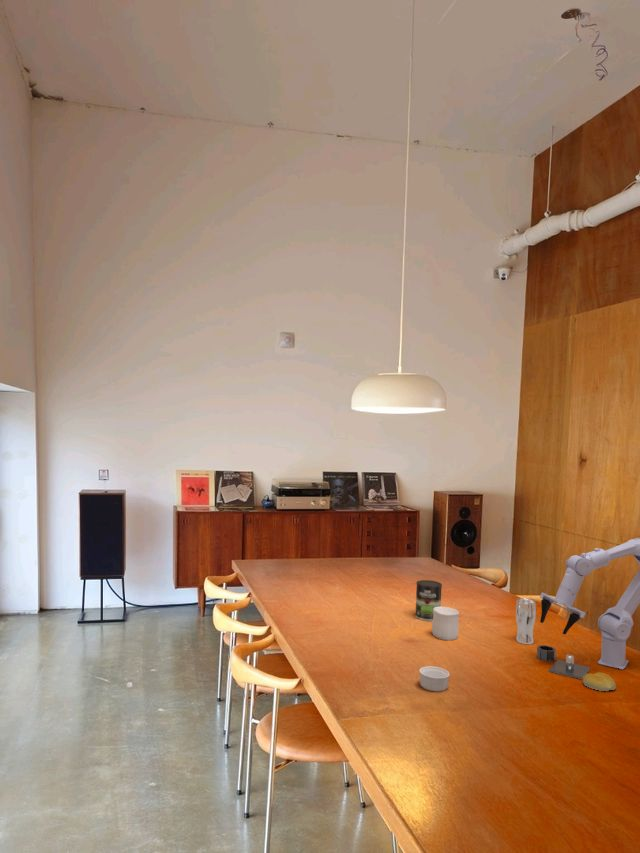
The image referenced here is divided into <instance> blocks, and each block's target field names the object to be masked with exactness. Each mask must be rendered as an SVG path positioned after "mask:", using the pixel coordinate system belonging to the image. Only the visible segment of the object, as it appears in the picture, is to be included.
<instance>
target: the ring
mask: <svg viewBox="0 0 640 853" xmlns="http://www.w3.org/2000/svg"><path fill="white" fill-rule="evenodd" d="M536 649H537V650H536V658H537V659H538V658H539V659H538V660H540V661H542V660H543V662H546V661H548V662H547V663H549V662H550V661H551V662H552V661H553V662H556V657H557V656H556V651H557V649H556V648H555V647H553V646H550V645H545V644H542V645H538V646H537V647H536ZM551 662H550V663H551Z"/></svg>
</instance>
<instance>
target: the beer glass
mask: <svg viewBox="0 0 640 853" xmlns="http://www.w3.org/2000/svg"><path fill="white" fill-rule="evenodd" d="M515 604H516V605H515V606H516V607H515V620H516V627H517V631H516V632H517V634H516V637H515V640H516V642H517V643H519V644H523V645H533V644H534V637H533V636H534V635H533V632H534V626H535V624H536V623H535V622H536V617H537V616H536V615H537V611H536V610H537V608H536V606H537V605H536V601H535V600H533V599H530V598H525V597H524V598H517V599H516V603H515Z"/></svg>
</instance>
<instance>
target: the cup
mask: <svg viewBox="0 0 640 853" xmlns="http://www.w3.org/2000/svg"><path fill="white" fill-rule="evenodd" d="M459 617H460V611H459V610H457V609H455V608H453V607H448V606H439V607H434V608H433V621H432V623H431V624H432V626H431V633H432V636H434V637H435V638H436V637H437V638H436V639H438V638H439V639H438V640H441V639H442V641H454V640H457V638H458V637H459Z"/></svg>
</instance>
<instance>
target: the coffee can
mask: <svg viewBox="0 0 640 853" xmlns="http://www.w3.org/2000/svg"><path fill="white" fill-rule="evenodd" d="M415 584H416V595H415V618H416V619H418V620H420V619H421V621H424V620H425V621H426V622H433V608H434V607H439V606H441V605H442V587H443V584H442V583H441V582H439V581H435V580H429V579H426V580H425V579H422V580H418V581H416V583H415ZM441 607H442V606H441ZM425 621H424V622H425Z"/></svg>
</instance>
